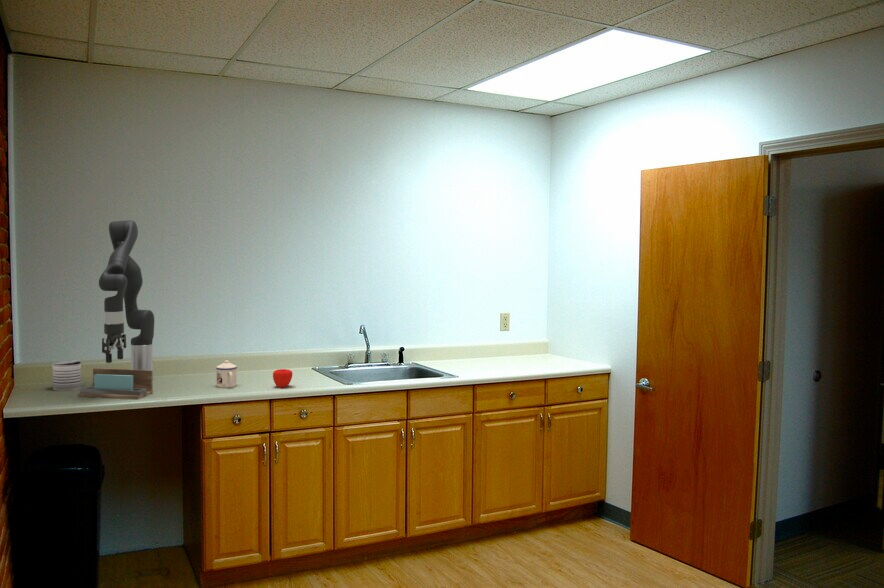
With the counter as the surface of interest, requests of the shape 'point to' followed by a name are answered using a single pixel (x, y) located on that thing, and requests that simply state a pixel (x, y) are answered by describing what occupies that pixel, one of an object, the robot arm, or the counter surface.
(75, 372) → the can
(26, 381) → the counter surface
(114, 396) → the brown wooden stand
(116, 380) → the sliding panel
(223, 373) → the teacup with lid
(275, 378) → the apple
